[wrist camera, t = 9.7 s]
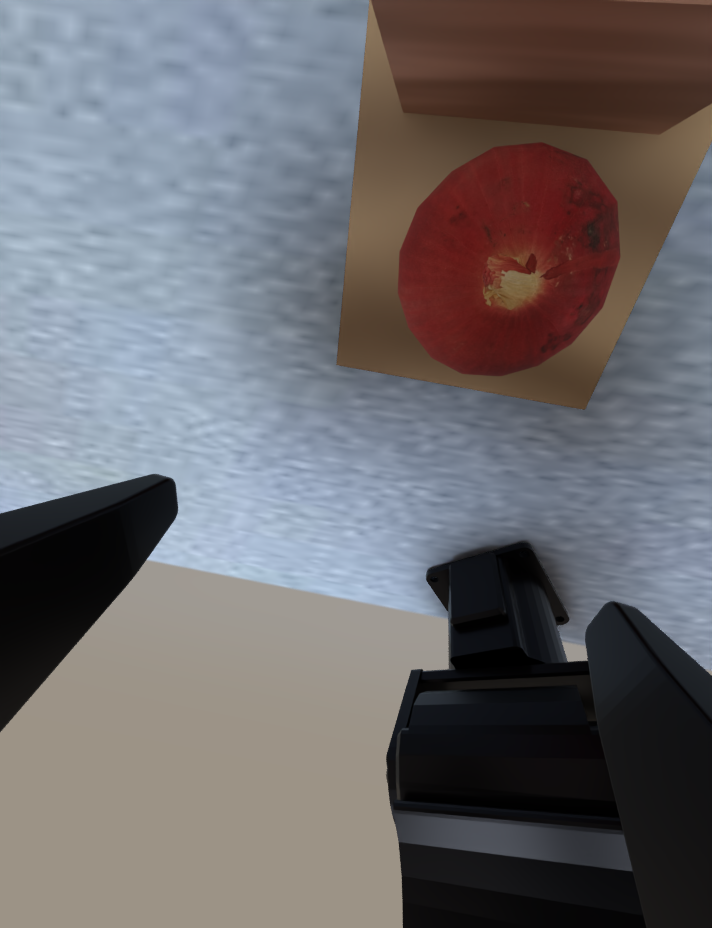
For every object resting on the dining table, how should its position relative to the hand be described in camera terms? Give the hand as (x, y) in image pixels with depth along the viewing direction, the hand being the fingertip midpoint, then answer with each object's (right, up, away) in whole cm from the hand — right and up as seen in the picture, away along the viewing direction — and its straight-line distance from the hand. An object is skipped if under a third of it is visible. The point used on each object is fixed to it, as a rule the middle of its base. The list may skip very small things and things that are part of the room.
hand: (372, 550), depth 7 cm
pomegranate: (+5, +9, +6) cm, 12 cm away
